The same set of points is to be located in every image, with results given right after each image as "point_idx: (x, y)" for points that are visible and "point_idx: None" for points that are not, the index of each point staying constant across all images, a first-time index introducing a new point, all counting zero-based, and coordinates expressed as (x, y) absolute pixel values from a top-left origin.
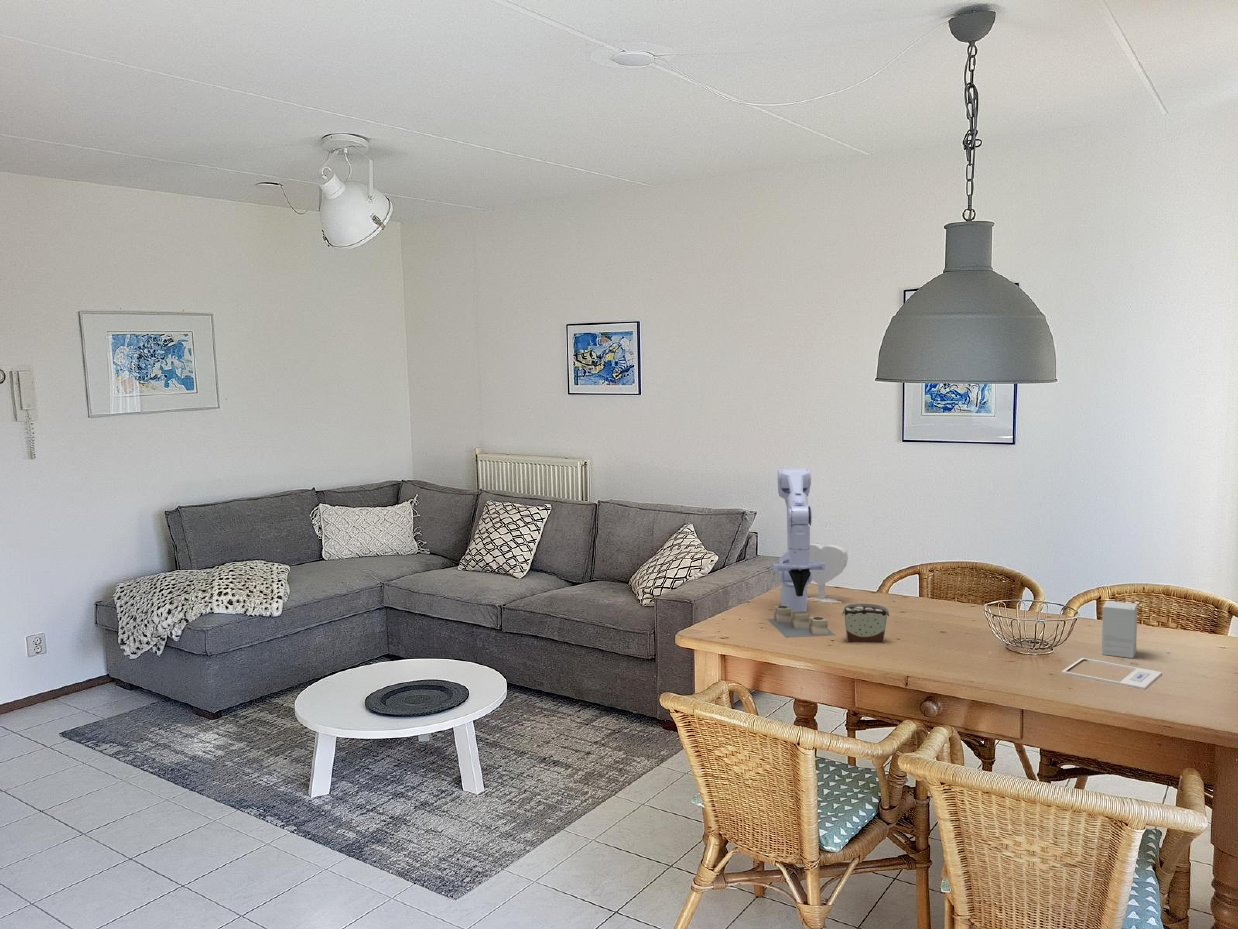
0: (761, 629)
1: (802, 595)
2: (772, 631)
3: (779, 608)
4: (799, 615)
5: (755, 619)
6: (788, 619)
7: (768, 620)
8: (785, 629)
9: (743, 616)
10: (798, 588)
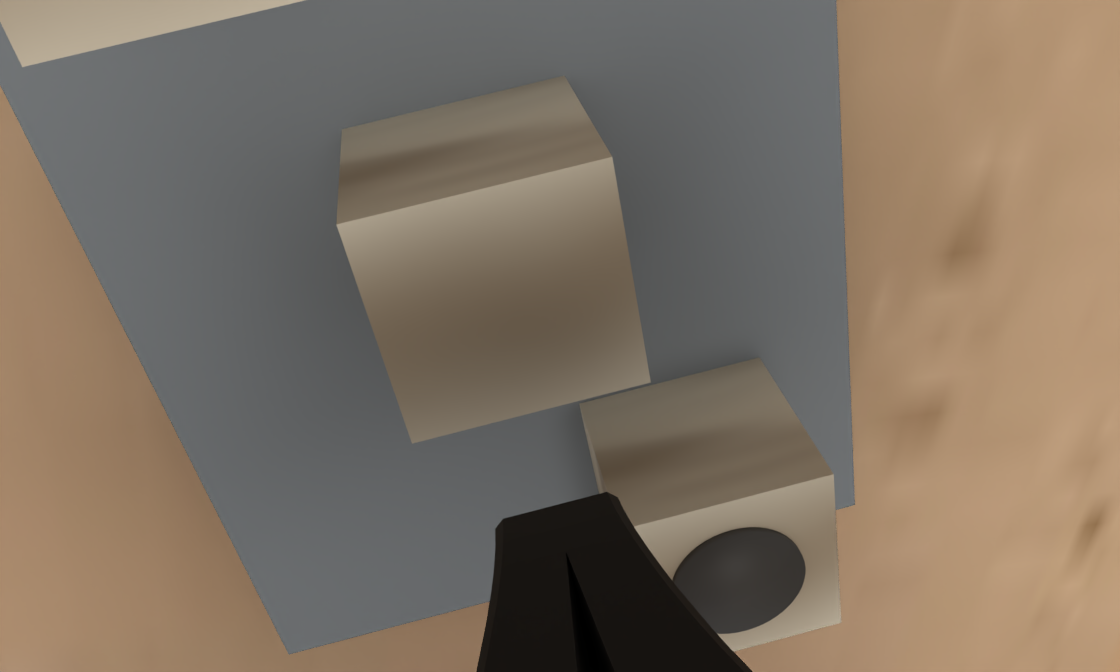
0: (995, 151)
1: (502, 533)
2: (878, 61)
3: (801, 515)
4: (527, 170)
5: (936, 541)
6: (628, 416)
7: (851, 442)
8: (720, 29)
9: (1021, 616)
10: (666, 626)
